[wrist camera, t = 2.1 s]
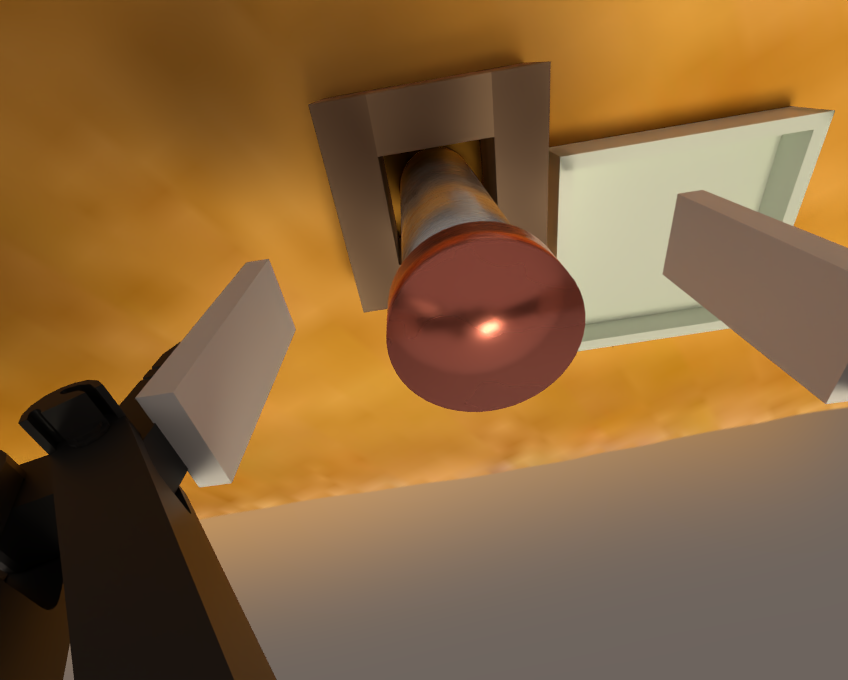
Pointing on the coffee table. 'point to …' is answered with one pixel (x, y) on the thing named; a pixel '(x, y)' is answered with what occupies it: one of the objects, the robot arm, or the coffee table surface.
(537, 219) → the socket block
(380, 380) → the coffee table surface
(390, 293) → the pin
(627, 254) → the tray
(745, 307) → the robot arm
